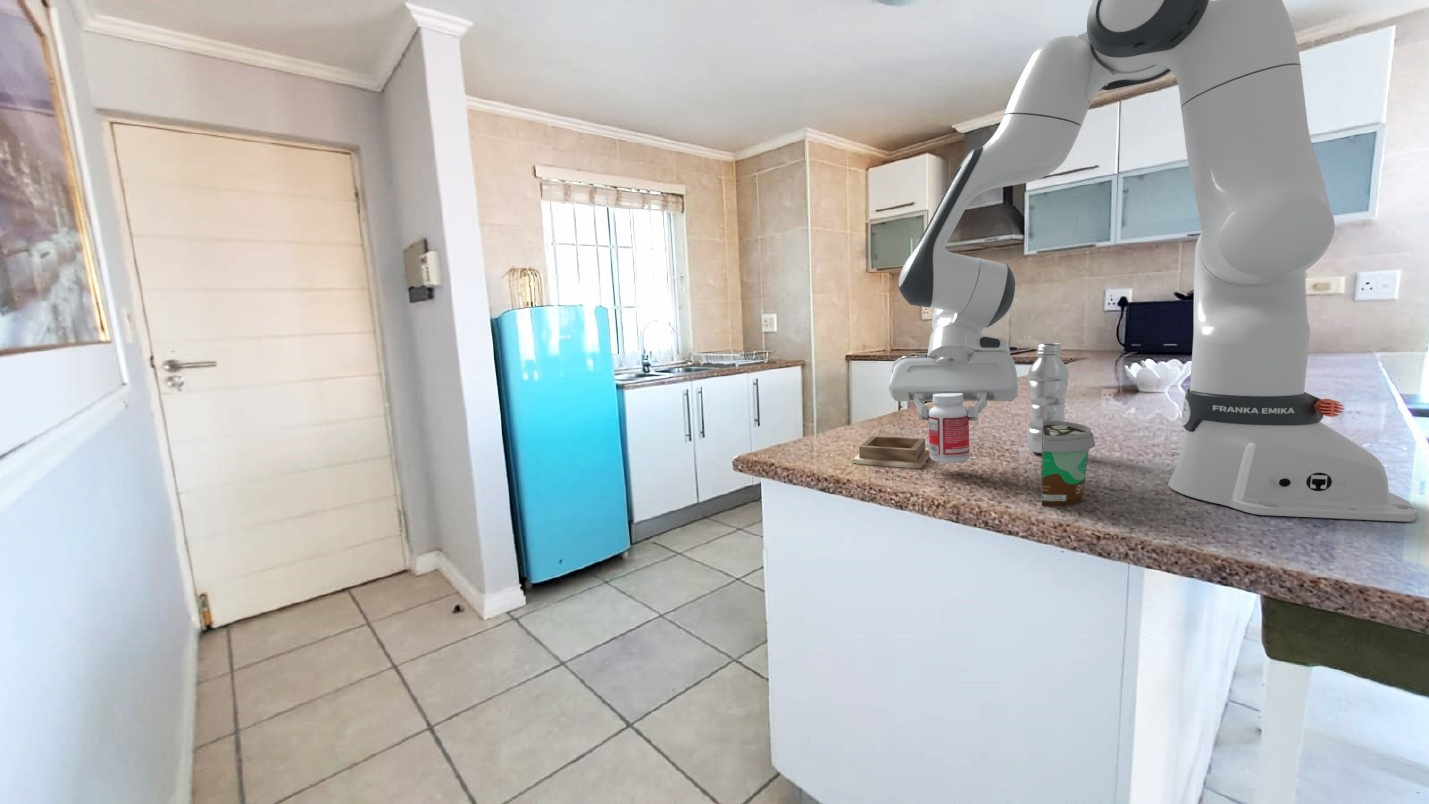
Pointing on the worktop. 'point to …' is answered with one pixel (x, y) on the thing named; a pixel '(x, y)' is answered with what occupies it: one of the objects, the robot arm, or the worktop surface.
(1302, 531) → the worktop surface
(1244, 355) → the robot arm
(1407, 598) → the worktop surface
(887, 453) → the brown wooden square tray
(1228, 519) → the worktop surface
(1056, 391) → the plastic bottle
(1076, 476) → the food container
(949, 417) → the pill bottle
